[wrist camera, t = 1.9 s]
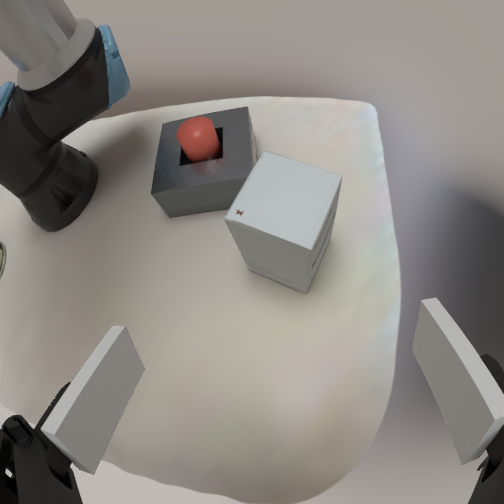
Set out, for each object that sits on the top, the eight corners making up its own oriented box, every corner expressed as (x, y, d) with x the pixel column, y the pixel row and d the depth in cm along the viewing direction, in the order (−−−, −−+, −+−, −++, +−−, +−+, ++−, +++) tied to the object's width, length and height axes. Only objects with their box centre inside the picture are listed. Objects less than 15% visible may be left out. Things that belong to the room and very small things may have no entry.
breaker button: (188, 171, 36) (174, 146, 31) (190, 146, 37) (178, 120, 33) (222, 166, 35) (212, 138, 31) (222, 140, 37) (213, 113, 32)
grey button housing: (170, 217, 38) (151, 193, 33) (176, 150, 43) (162, 123, 38) (261, 204, 37) (254, 176, 32) (255, 136, 42) (249, 106, 36)
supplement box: (307, 296, 32) (310, 254, 20) (247, 270, 34) (219, 217, 23) (332, 239, 34) (345, 174, 22) (275, 216, 36) (262, 147, 25)
